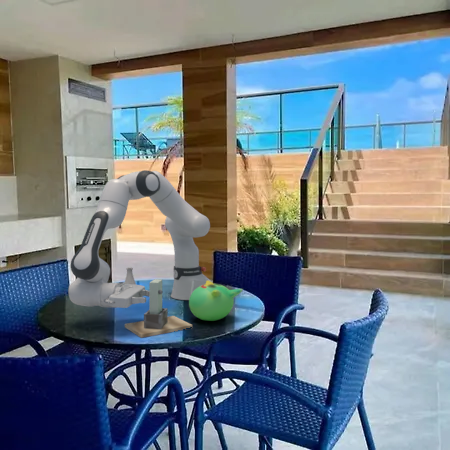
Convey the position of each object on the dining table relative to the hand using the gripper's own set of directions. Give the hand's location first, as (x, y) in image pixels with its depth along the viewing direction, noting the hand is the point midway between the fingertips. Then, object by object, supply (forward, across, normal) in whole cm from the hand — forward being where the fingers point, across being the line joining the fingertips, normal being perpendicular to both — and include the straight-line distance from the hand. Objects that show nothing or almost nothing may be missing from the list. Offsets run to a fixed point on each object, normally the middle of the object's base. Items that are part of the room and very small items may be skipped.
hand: (149, 297), depth 169 cm
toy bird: (+21, +14, +12) cm, 28 cm away
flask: (-29, +60, +11) cm, 67 cm away
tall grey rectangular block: (+2, 0, +10) cm, 10 cm away
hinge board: (+3, +1, +11) cm, 12 cm away
